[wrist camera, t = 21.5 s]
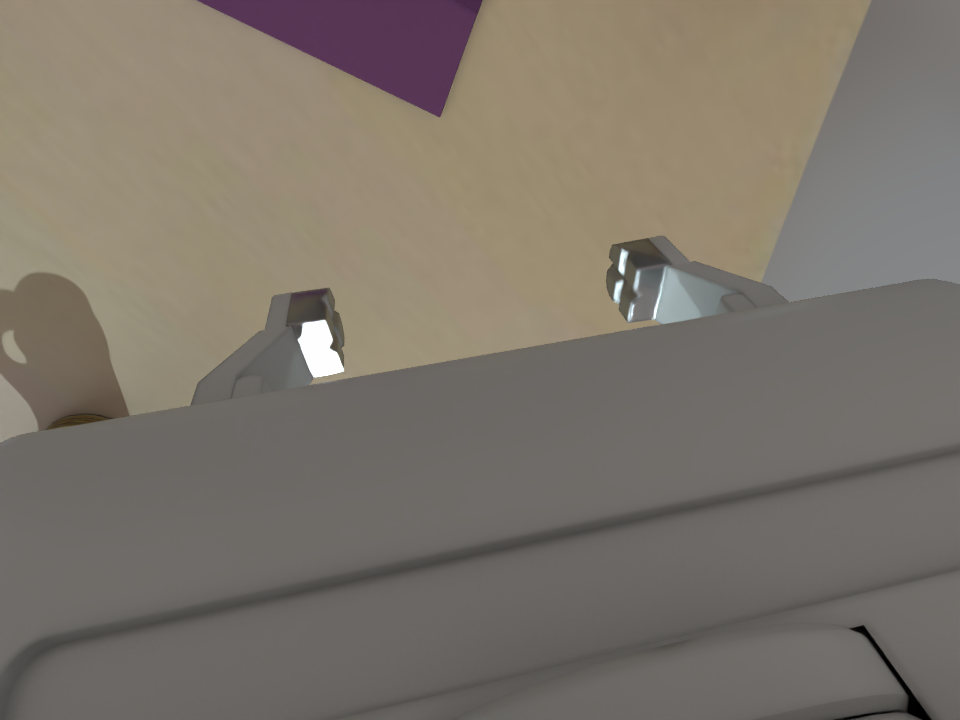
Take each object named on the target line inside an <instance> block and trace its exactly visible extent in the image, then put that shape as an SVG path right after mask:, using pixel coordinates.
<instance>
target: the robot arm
mask: <svg viewBox="0 0 960 720" xmlns="http://www.w3.org/2000/svg"><path fill="white" fill-rule="evenodd" d="M609 258H610V260H611V261H612V263H613V264H612V265H611V267H610V268H609V269H608V270H607V276H606V284H607V290H608V293H609V296H610V297H611V299H612V300H613V301H614V302H617V303H619V311H620V312H621V314H622V315H623V317H624V318H625V320H626V321H627V323H631V322H638V321H645V320H652V319H655V320H656V321H657V322H659V323H661V324H660V325H655V326H649V327H643V328H637V329H632V330H626V331H620V332H614V333H608V334H603V335H597V336H591V337H585V338H579V339H574V340H568V341H562V342H556V343H551V344H545V345H539V346H533V347H527V348H522V349H516V350H510V351H504V352H498V353H493V354H487V355H481V356H475V357H469V358H464V359H458V360H452V361H446V362H441V363H435V364H429V365H423V366H417V367H412V368H406V369H400V370H394V371H388V372H383V373H377V374H371V375H365V376H359V377H354V378H348V379H342V380H336V381H331V382H325V383H319V384H313V385H309V384H310V383H311V381H312V380H313V377H318V376H323V375H329V374H334V373H339V372H344V354H343V351H342V347H343V346H344V331H343V326H342V322H341V318H340V315H339V313H338V312H336V311H335V310H334V309H335V300H334V297H333V294H332V291H331V289H330V288H322V289H315V290H308V291H300V292H293V293H285V294H279V295H274V296H273V297H272V300H271V304H270V309H269V313H268V317H267V322H266V326H265V330H263V331H259V332H258V333H257V334H255V335H254V336H253V337H252V338H251V339H249V340H248V341H247V342H246V343H245V344H243V345H242V346H241V347H240V348H239V349H238V350H236V351H235V352H234V353H233V354H232V355H230V356H229V357H228V358H227V359H226V360H224V361H223V362H222V363H221V364H220V365H218V366H217V367H216V368H215V369H214V370H213V371H211V372H210V373H209V374H208V375H207V376H205V377H204V378H203V379H202V380H201V381H199V382H198V384H197V387H196V390H195V393H194V396H193V399H192V402H191V405H190V406H185V407H180V408H174V409H168V410H162V411H156V412H151V413H145V414H139V415H133V416H127V417H122V418H116V419H110V420H104V421H98V422H93V423H87V424H81V425H75V426H69V427H63V428H56V429H50V430H43V431H37V432H31V433H26V434H21V435H18V436H15V437H12V438H9V439H7V440H5V441H3V442H1V443H0V720H960V284H956V283H952V282H947V281H942V280H937V279H922V280H914V281H909V282H903V283H898V284H893V285H887V286H881V287H876V288H870V289H863V290H858V291H852V292H846V293H840V294H835V295H829V296H823V297H817V298H812V299H806V300H800V301H794V302H788V301H787V300H786V299H785V298H784V297H783V296H782V295H780V294H779V293H778V292H777V291H776V290H775V289H774V288H773V287H771V286H768V285H765V284H762V283H759V282H756V281H753V280H750V279H747V278H744V277H741V276H738V275H735V274H732V273H729V272H726V271H723V270H720V269H717V268H714V267H711V266H708V265H705V264H702V263H699V262H696V261H694V262H690V261H689V260H688V259H687V258H686V257H685V256H684V255H683V254H682V253H681V252H680V251H679V250H678V249H677V248H676V247H675V246H674V245H673V244H672V243H671V242H670V241H669V240H668V239H667V238H666V237H665V236H656V237H651V238H646V239H641V240H635V241H630V242H624V243H619V244H613V245H612V247H611V249H610V254H609Z"/></svg>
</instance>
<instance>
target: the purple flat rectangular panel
mask: <svg viewBox="0 0 960 720" xmlns="http://www.w3.org/2000/svg"><path fill="white" fill-rule="evenodd" d="M197 1H199V2H202V3H204V4H206V5H208V6H210V7H212V8H214V9H216V10H218V11H220V12H222V13H224V14H226V15H228V16H231V17H233V18H235V19H237V20H239V21H241V22H243V23H245V24H247V25H249V26H251V27H253V28H255V29H258V30H260V31H262V32H264V33H266V34H268V35H270V36H272V37H274V38H276V39H278V40H280V41H282V42H285V43H287V44H289V45H291V46H293V47H295V48H297V49H299V50H301V51H303V52H305V53H307V54H309V55H312V56H314V57H316V58H318V59H320V60H322V61H324V62H326V63H328V64H330V65H332V66H334V67H336V68H339V69H341V70H343V71H345V72H347V73H349V74H351V75H353V76H355V77H357V78H359V79H361V80H363V81H366V82H368V83H370V84H372V85H374V86H376V87H378V88H380V89H382V90H384V91H386V92H388V93H390V94H393V95H395V96H397V97H399V98H401V99H403V100H405V101H407V102H409V103H411V104H413V105H415V106H417V107H420V108H422V109H424V110H426V111H428V112H430V113H432V114H434V115H436V116H438V117H440V116H441V113H442V110H443V108H444V105H445V102H446V99H447V96H448V94H449V91H450V88H451V85H452V83H453V80H454V77H455V74H456V71H457V69H458V66H459V63H460V60H461V58H462V55H463V52H464V49H465V46H466V44H467V41H468V38H469V35H470V33H471V30H472V27H473V24H474V21H475V19H476V16H477V14H478V11H479V8H480V6H481V3H482V0H197Z"/></svg>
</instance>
